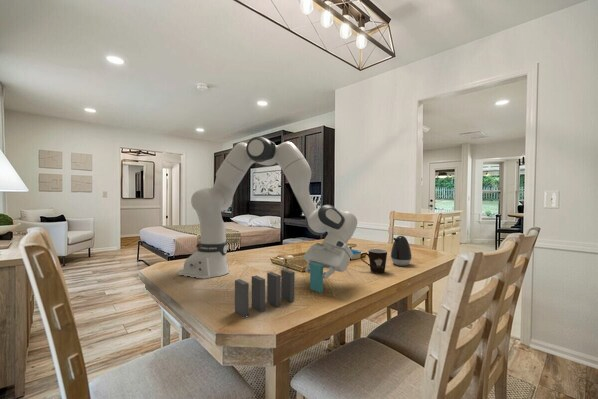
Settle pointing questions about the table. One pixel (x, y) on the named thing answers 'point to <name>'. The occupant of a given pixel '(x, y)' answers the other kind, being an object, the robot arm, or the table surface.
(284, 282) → the domino
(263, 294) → the domino
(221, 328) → the table surface
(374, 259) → the coffee mug
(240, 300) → the domino
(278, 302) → the domino
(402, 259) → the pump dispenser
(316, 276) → the domino
